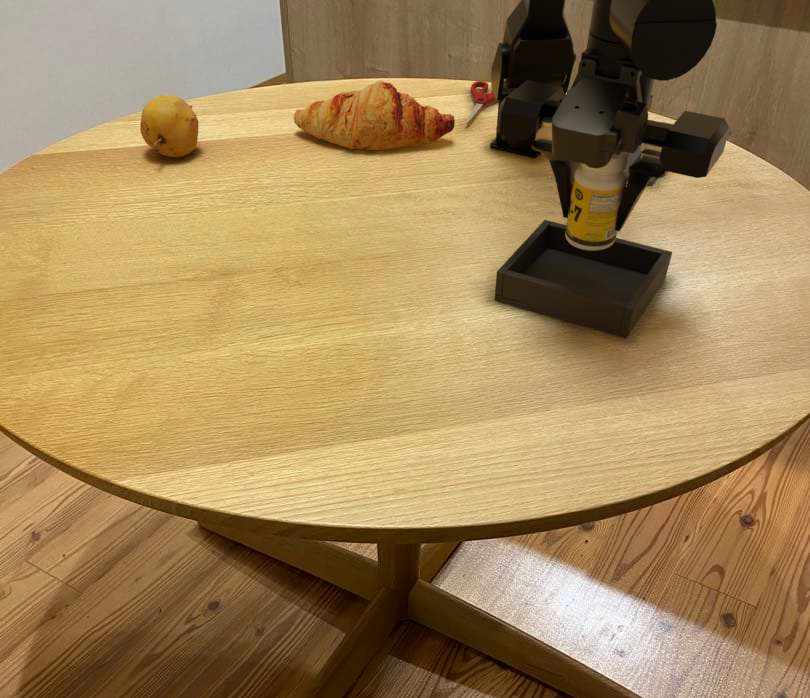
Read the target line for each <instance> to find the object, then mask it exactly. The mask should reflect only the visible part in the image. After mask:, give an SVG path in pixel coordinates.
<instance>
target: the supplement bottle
mask: <svg viewBox="0 0 810 698" xmlns="http://www.w3.org/2000/svg"><path fill="white" fill-rule="evenodd" d="M627 159H628V152H621V153H620V154H619V155H617V154H613V155H612V158H611V160H610V162H609V163H608V164H607V165H606V166H604V167H602V168H590V167H588V166H587V165H586V164H582V163H580V166H579V167H578V168H577V169H576V171H575V174H574V179H573V186H572V193H571V199H570V206H569V213H568V218H566V219H567V220H566V225H567V226H566V233H565V236H566V239H567V241H568V242H569V243H570V244H571V245H573V246H574V247H576V248H579V249H582V250H590V251H595V250H602V249H606V248H608V247H610V246H611V245H612V244H613V243H614V242H615V239H616V238H617V236H618V235H617V234H618V231H616V230H615V228H616V221H617V216H618V212H619V209H620V206H621V202H622V199H623V196H624V193H625V189H626V186H627V183H628V176H627V173H626V171H625V168H626V165H627Z"/></svg>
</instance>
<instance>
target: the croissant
mask: <svg viewBox="0 0 810 698" xmlns="http://www.w3.org/2000/svg"><path fill="white" fill-rule="evenodd" d="M293 120H294V121H293V122H294V124H295V125H296V127H297V128H299V129H300V130H302V131H303V132H305V133H306V134H309V135H311V136H313V138H317V139H319V140H322V141H323V140H324V141H326V142H328V143H330V144H333V145H338V146H341V147H344V148H347V149H350V150H355V149H357V150H368V151H379V150H390V149H393V148H399V147H402V146H418V145H421V144H422V145H423V144H427V143H431V142H436V141H437V140H438V139H441V138H442V137H443V136H446V134H449V133H451V132H453V130H454V128H455V122H456V120H455V116H454V115H453V114H450V113H443V114H442V113H440V112H439V110H438V108H436V107H432V106H431V105H425V106H423V105H422V104H420V103H419V102H418V101H417V100H416V99H415V98H414V97H412V96H410V95H409V94H407V93H402V92H400V91H398V89H397V88H396V87H395V86H394V85H393V83H391V82H385V81H382V80H379V81H378V80H377V81H376V82H375V83H371V84H368V85H366V86H365V87H363V88H362V89H361V90H350V91H342V92H339V93H337V94H335V95H333V96H332V97H331V98H328V99H326V100H318V101H317V100H316V101H314V102H311V104H309V105H307V106H306V107H305V108H304V109H295V112H294V114H293Z"/></svg>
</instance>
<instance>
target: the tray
mask: <svg viewBox="0 0 810 698" xmlns="http://www.w3.org/2000/svg"><path fill="white" fill-rule="evenodd" d="M566 226H567V224H564V223H560V222H555V221H551V220H548V219H543V221H542V222H541V223H540V224H539V225H538V226H537V227H536V228H535V229H534V231H533V232H532V233H531V234H530V235H529V236H528V237H527V238H526V239H525V240H524V241H523V243H522V244H521V245H520V246H519V247H518V248H516V250H515V251H514V252H513V253H512V254H511V255H510V257H509V258H507V260H506V261H505V262H504V263H503V264H502V265H501V266H500V268H498V270H497V271H496V277H495V288H494V289H495V290H494V301H497V302H501V303H504V304H508V305H511V306H514V307H517V308H521V309H524V310H527V311H532V312H535V313H538V314H541V315H545V316H547V317H551V318H555V319H558V320H562V321H565V322H568V323H571V324H575V325H578V326H581V327H585V328H588V329H592V330H595V331H598V332H601V333H604V334H608V335H611V336H615V337H619V338H622V339H624V340H625V339H628V337H629V336H630V334H631V332H632V331H633V329H634V328H635V326H636V325H637V324H638V322H639V320H640V319H641V317H642V316H643V314H645V313H644V312H645V311H646V310H647V308H648V307H649V305H650V304H651V302H652V300H653V299H654V298H655V296H656V295H657V293H658V291H659V290H660V288H661V287H662V285H663V284H664V282H665V281H666V278H667V274H668V271H669V268H670V263H671V258H672V256H673V251H670V250H666V249H662V248H659V247H655V246H650V245H646V244H643V243H638V242H634V241H630V240H626V239H624V238H619V237H616V239H615V242H614V243H613V244H612V245H611V246H610V247H608V248H606V249H602V250H595V251H590V250H582V249H579V248H576V247H574V246H573V245H571V244H570V243H569V242H568V241H567V239H566V236H565V233H566Z"/></svg>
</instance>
